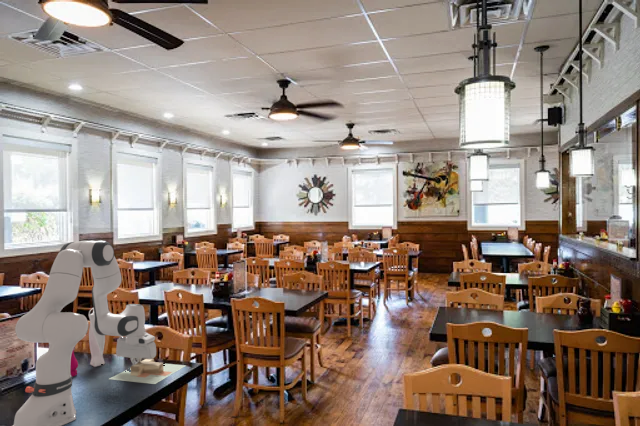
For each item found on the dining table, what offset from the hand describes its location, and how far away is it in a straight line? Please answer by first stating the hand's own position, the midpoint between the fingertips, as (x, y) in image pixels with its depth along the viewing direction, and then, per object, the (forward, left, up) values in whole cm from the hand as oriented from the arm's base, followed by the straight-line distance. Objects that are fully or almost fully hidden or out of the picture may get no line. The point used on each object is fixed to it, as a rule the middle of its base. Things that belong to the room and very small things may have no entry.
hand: (136, 366), depth 213 cm
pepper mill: (-12, +27, -3) cm, 30 cm away
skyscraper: (+4, +26, -3) cm, 27 cm away
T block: (0, -8, -2) cm, 8 cm away
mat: (0, -7, -2) cm, 7 cm away
